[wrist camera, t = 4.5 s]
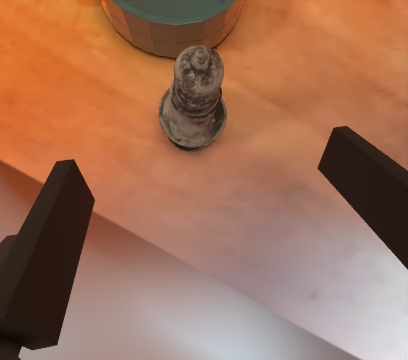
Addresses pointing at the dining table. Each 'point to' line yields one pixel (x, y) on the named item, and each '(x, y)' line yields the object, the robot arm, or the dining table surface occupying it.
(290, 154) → the dining table surface
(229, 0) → the bowl
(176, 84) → the salt shaker
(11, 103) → the dining table surface
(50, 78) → the dining table surface
